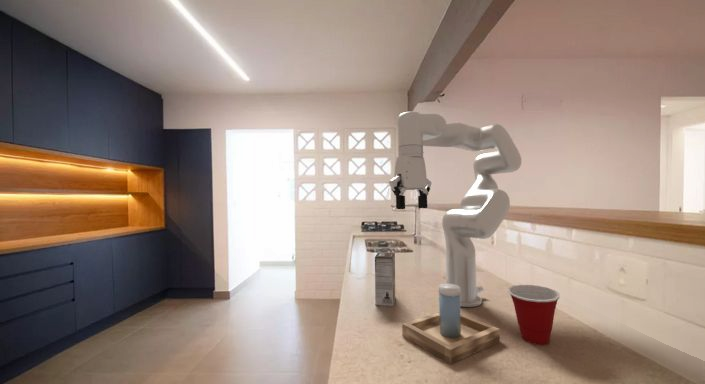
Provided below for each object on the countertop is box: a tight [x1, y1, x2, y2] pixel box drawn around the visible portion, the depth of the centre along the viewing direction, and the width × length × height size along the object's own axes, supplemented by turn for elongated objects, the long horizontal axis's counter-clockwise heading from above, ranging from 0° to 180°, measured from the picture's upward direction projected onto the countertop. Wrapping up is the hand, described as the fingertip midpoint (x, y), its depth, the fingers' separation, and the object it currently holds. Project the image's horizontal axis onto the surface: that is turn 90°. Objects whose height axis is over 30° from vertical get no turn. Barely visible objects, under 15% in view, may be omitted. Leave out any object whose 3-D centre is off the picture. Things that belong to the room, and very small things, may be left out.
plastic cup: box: [507, 284, 560, 346], centre depth 69 cm, size 11×11×12 cm
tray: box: [401, 312, 501, 365], centre depth 69 cm, size 18×15×3 cm
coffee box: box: [374, 251, 396, 307], centre depth 96 cm, size 9×6×16 cm
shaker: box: [438, 283, 462, 338], centre depth 70 cm, size 5×5×12 cm
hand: (412, 208), depth 85 cm, fingers open, 9 cm apart
